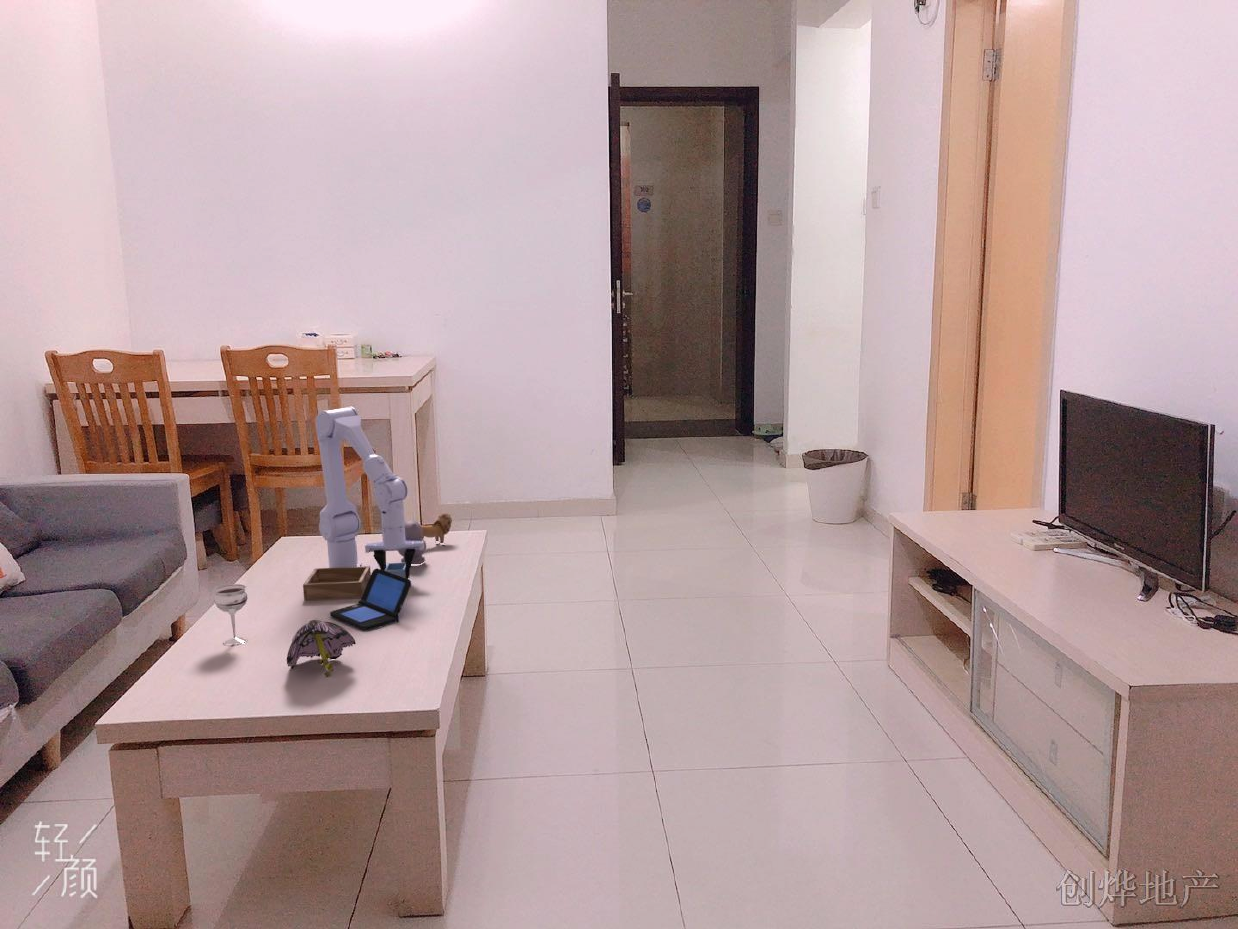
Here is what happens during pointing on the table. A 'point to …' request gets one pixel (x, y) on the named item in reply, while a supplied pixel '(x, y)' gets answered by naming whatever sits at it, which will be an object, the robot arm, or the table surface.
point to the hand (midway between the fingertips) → (396, 577)
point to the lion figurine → (438, 528)
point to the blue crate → (396, 569)
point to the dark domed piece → (319, 643)
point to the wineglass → (231, 604)
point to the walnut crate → (336, 583)
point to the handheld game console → (376, 602)
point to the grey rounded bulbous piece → (414, 534)
